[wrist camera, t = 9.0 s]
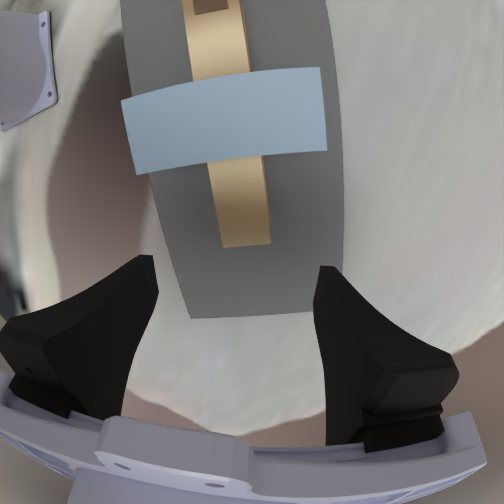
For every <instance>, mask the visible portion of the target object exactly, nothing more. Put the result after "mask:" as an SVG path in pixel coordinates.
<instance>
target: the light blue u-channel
mask: <svg viewBox="0 0 504 504" xmlns="http://www.w3.org/2000/svg"><path fill="white" fill-rule="evenodd" d="M121 104H122V110H123V114H124V120H125V124H126V130H127V135H128V140H129V144H130V149H131V153H132V158H133V161H134V166H135V170H136V174H137V175H140V174H145V173H150V172H155V171H160V170H165V169H171V168H176V167H182V166H188V165H194V164H201V163H207V162H214V161H221V160H228V159H236V158H244V157H253V156H262V155H272V154H283V153H296V152H310V151H327V139H326V126H325V113H324V102H323V92H322V83H321V74H320V67H307V68H288V69H275V70H264V71H255V72H246V73H239V74H232V75H225V76H219V77H214V78H208V79H203V80H198V81H193V82H188V83H183V84H179V85H175V86H171V87H167V88H163V89H159V90H155V91H151V92H148V93H144V94H141V95H137V96H134V97H131V98H128V99H125V100H122V101H121Z"/></svg>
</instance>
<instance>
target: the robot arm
mask: <svg viewBox="0 0 504 504" xmlns="http://www.w3.org/2000/svg"><path fill="white" fill-rule="evenodd" d="M44 24H45V26H44ZM50 93H52V95H51V96H50ZM56 101H57V94H56V87H55V80H54V72H53V63H52V52H51V39H50V13H49V11H43V12H42V13H40V14H39V15H37V14H30V13H22V12H12V11H0V125H1V130H2V131H3V132H6V131H8V130H9V129H11V128H13V127H14V126H16V125H18V124H19V123H21V122H23V121H24V120H26V119H28V118H30V117H31V116H33V115H35V114H37V113H39V112H40V111H42V110H44V109H46V108H48V107H50V106H52V105H54V104H55V103H56ZM158 294H159V290H158V285H157V279H156V273H155V267H154V261H153V255H138V256H137V257H135V258H133V259H132V260H130V261H129V262H127V263H126V264H124V265H123V266H121V267H120V268H119V269H117V270H116V271H114V272H113V273H111V274H110V275H108V276H107V277H105V278H104V279H102V280H101V281H99V282H97V283H96V284H94V285H93V286H91V287H89V288H88V289H86V290H84V291H83V292H81V293H79V294H77V295H75V296H73V297H71V298H69V299H66V300H64V301H62V302H60V303H57V304H55V305H53V306H50V307H47V308H44V309H41V310H38V311H35V312H32V313H28V314H24V315H19V316H15V317H11V318H10V319H9V320H8V321H7V323H6V324H5V325H4V327H3V328H2V329H1V331H0V352H1V354H2V355H3V357H4V358H5V360H6V361H7V362H8V364H9V365H10V367H11V368H12V369H13V371H14V372H15V373H16V374H15V376H14V378H13V379H12V378H11V377H10V376H9V375H7V374H6V373H4V372H2V371H0V438H1V439H2V440H4V441H5V442H7V443H8V444H10V445H11V446H13V447H15V448H16V449H18V450H19V451H21V452H22V453H24V454H26V455H27V456H29V457H31V458H32V459H34V460H36V461H38V462H39V463H41V464H43V465H45V466H47V467H48V468H50V469H52V470H54V471H56V472H58V473H60V474H62V475H64V476H66V477H68V478H70V479H72V480H74V483H73V486H72V490H71V493H70V496H69V500H68V503H67V504H401V503H404V502H407V501H410V500H414V499H416V498H419V497H422V496H425V495H428V494H431V493H434V492H437V491H439V490H442V489H445V488H447V487H450V486H452V485H453V484H455V483H457V482H459V481H460V480H462V479H463V478H465V477H467V476H469V475H470V474H472V473H474V472H475V471H477V470H478V469H480V468H481V467H483V466H484V465H486V463H487V459H486V456H485V453H484V450H483V446H482V443H481V440H480V437H479V434H478V431H477V428H476V425H475V423H474V420H473V417H472V414H471V412H470V411H468V412H465V413H461V414H458V415H454V416H451V417H448V418H446V419H444V420H443V421H441V418H440V415H439V414H441V413H442V412H443V408H442V406H441V402H442V401H443V400H444V399H445V398H446V396H447V395H448V394H449V393H450V392H451V391H452V389H453V388H454V387H455V385H456V384H457V381H458V378H459V371H458V369H457V367H456V365H455V363H454V361H453V359H452V356H451V355H450V353H447V352H445V351H443V350H440V349H438V348H436V347H433V346H431V345H429V344H427V343H425V342H423V341H421V340H420V339H418V338H416V337H414V336H412V335H411V334H409V333H407V332H406V331H404V330H403V329H401V328H400V327H398V326H397V325H395V324H394V323H393V322H391V321H390V320H389V319H387V318H386V317H385V316H384V315H382V314H381V313H380V312H379V311H378V310H376V309H375V308H374V307H373V306H372V305H371V304H370V303H369V302H368V301H367V300H366V299H365V298H364V297H363V296H362V295H361V294H360V293H359V292H358V291H357V290H356V289H355V288H354V287H353V286H352V285H351V284H350V283H349V282H348V281H347V279H346V278H345V277H344V276H343V275H342V274H341V273H340V272H339V271H338V270H337V268H336V267H335V266H323V265H320V270H319V275H318V280H317V285H316V290H315V294H314V299H313V314H314V324H315V329H316V334H317V339H318V343H319V348H320V353H321V358H322V363H323V369H324V380H325V397H326V446H318V447H253V446H250V444H249V443H248V442H246V441H244V440H242V439H239V438H237V437H235V436H232V435H226V434H221V433H216V432H209V431H201V430H193V429H187V428H179V427H174V426H169V425H163V424H158V423H153V422H148V421H144V420H139V419H135V418H131V417H123V416H121V409H122V403H123V398H124V392H125V388H126V384H127V380H128V375H129V372H130V368H131V365H132V361H133V358H134V355H135V352H136V349H137V347H138V345H139V343H140V340H141V338H142V336H143V334H144V331H145V329H146V327H147V325H148V322H149V320H150V318H151V316H152V313H153V311H154V308H155V305H156V301H157V298H158Z"/></svg>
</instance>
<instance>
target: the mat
mask: <svg viewBox="0 0 504 504" xmlns="http://www.w3.org/2000/svg"><path fill="white" fill-rule="evenodd" d="M120 4H121V16H122V26H123V35H124V44H125V52H126V59H127V66H128V73H129V80H130V86H131V92H132V97H134V96H137V95H141V94H144V93H148V92H151V91H155V90H159V89H163V88H167V87H171V86H175V85H179V84H183V83H188V82H193V75H192V69H191V62H190V55H189V48H188V41H187V34H186V27H185V20H184V12H183V4H182V0H120ZM242 6H243V13H244V19H245V26H246V32H247V39H248V45H249V52H250V59H251V66H252V72H255V71H264V70H275V69H288V68H307V67H320V74H321V83H322V92H323V102H324V113H325V126H326V139H327V151H310V152H296V153H283V154H272V155H263V157H264V165H265V174H266V182H267V191H268V200H269V208H270V217H271V244H263V245H252V246H240V247H229V248H223V244H222V239H221V234H220V229H219V224H218V219H217V214H216V208H215V203H214V198H213V192H212V187H211V182H210V176H209V171H208V165H207V163H201V164H194V165H188V166H182V167H176V168H171V169H165V170H160V171H155V172H150V173H148V175H149V179H150V184H151V188H152V192H153V196H154V199H155V203H156V207H157V211H158V215H159V218H160V222H161V226H162V229H163V233H164V236H165V240H166V243H167V247H168V250H169V253H170V257H171V260H172V263H173V267H174V270H175V273H176V276H177V279H178V282H179V286H180V289H181V292H182V295H183V298H184V301H185V304H186V307H187V310H188V313H189V315H190V318H191V319H194V318H221V317H241V316H258V315H272V314H285V313H297V312H309V311H313V299H314V294H315V290H316V285H317V280H318V275H319V270H320V265H323V266H335V267H336V268H337V270H338V271H339V272H340V273H341V274H342V261H343V229H344V183H343V151H342V132H341V117H340V104H339V93H338V83H337V74H336V65H335V57H334V50H333V43H332V36H331V30H330V24H329V18H328V12H327V7H326V1H325V0H242Z"/></svg>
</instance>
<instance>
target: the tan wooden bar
mask: <svg viewBox="0 0 504 504" xmlns="http://www.w3.org/2000/svg"><path fill="white" fill-rule="evenodd" d="M182 4H183V12H184V20H185V27H186V34H187V41H188V48H189V55H190V62H191V69H192V75H193V81H198V80H203V79H208V78H214V77H219V76H225V75H232V74H239V73H246V72H252V66H251V59H250V52H249V45H248V39H247V32H246V26H245V19H244V13H243V6H242V0H182ZM207 165H208V171H209V176H210V182H211V187H212V192H213V198H214V203H215V208H216V214H217V219H218V224H219V229H220V234H221V239H222V244H223V248H229V247H240V246H252V245H263V244H271V217H270V208H269V200H268V191H267V182H266V174H265V165H264V157H263V155H262V156H253V157H244V158H236V159H228V160H221V161H214V162H207Z"/></svg>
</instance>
